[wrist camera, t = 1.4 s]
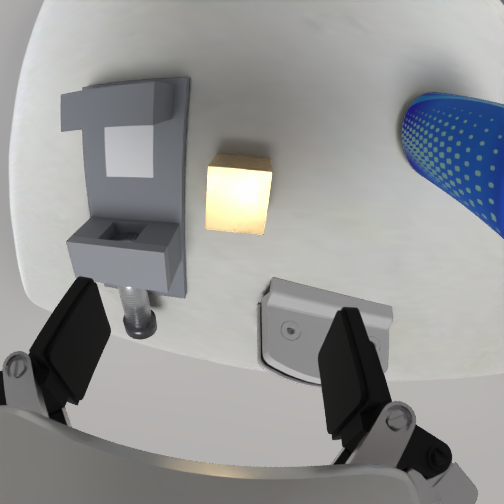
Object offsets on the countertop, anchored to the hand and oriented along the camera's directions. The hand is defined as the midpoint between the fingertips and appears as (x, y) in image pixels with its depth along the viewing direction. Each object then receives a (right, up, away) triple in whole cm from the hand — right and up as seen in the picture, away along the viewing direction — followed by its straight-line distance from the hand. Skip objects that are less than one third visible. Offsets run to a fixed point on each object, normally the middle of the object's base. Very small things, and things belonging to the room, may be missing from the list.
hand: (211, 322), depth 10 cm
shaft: (-11, 0, +18) cm, 21 cm away
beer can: (+18, +14, +10) cm, 25 cm away
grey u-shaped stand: (-10, +8, +14) cm, 19 cm away
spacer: (+1, +9, +14) cm, 16 cm away
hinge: (+10, -5, +22) cm, 25 cm away
